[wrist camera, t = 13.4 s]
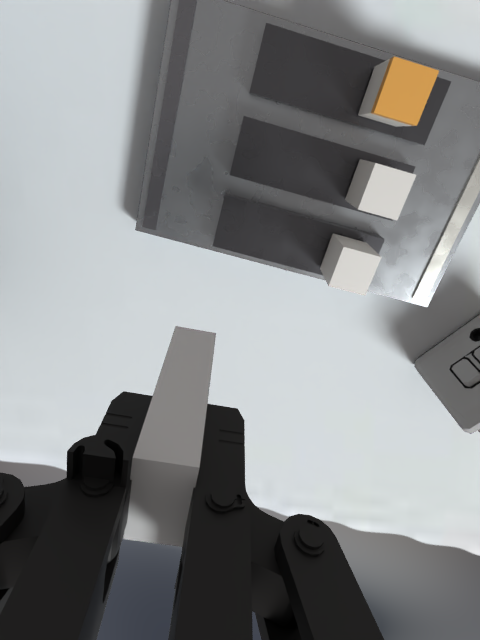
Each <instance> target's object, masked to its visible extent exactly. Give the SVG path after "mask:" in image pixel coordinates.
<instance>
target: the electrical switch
mask: <svg viewBox="0 0 480 640" xmlns="http://www.w3.org/2000/svg"><path fill="white" fill-rule="evenodd" d="M415 368H416V369H417V371H418V372H419V374H420V375H421V376H422V378H423V379H424V380H425V382H426V383H427V384H428V385H429V387H430V388H431V389H432V391H433V392H434V393H435V395H436V396H437V397H438V398H439V400H440V401H441V402H442V404H443V405H444V406H445V408H446V409H447V410H448V411H449V413H450V414H451V415H452V417H453V418H454V419H455V421H456V422H457V423H458V424H459V426H460V427H461V428H462V429H463V430H464V431H465V432H467V433H470V434H472V433H474V432H476V431H477V430H478V431H479V432H480V314H479V315H478V316H477V317H475V318H474V319H472V320H471V321H470V322H468V323H467V324H465V325H464V326H463V327H461V328H460V329H458V330H457V331H456V332H454V333H453V334H452V335H450V336H449V337H447V338H446V339H445V340H443V341H442V342H440V343H439V344H438V345H436V346H435V347H433V348H432V349H431V350H429V351H428V352H426V353H425V354H424V355H422V356H421V357H419V358H418V359H417V360H416V361H415Z"/></svg>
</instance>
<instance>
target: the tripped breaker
mask: <svg viewBox="0 0 480 640" xmlns="http://www.w3.org/2000/svg"><path fill="white" fill-rule="evenodd" d="M438 73H439V70H436V69H433V68H429V67H426V66H423V65H420V64H417V63H414V62H411V61H408V60H404V59H401V58H398V57H395V56H394V57H392V58H390V59H388V60H386V61H384V62H382V63H380V64H379V65H377V66H375V67H374V70H373V73H372V76H371V78H370V81H369V84H368V87H367V90H366V93H365V96H364V99H363V102H362V104H361V107H360V110H359V113H358V115H359V116H362V117H365V118H369V119H372V120H375V121H379V122H382V123H385V124H389V125H392V126H395V127H397V126H417V124H418V122H419V120H420V117H421V115H422V112H423V110H424V107H425V105H426V102H427V100H428V97H429V95H430V92H431V90H432V88H433V85H434V83H435V80H436V78H437V75H438Z"/></svg>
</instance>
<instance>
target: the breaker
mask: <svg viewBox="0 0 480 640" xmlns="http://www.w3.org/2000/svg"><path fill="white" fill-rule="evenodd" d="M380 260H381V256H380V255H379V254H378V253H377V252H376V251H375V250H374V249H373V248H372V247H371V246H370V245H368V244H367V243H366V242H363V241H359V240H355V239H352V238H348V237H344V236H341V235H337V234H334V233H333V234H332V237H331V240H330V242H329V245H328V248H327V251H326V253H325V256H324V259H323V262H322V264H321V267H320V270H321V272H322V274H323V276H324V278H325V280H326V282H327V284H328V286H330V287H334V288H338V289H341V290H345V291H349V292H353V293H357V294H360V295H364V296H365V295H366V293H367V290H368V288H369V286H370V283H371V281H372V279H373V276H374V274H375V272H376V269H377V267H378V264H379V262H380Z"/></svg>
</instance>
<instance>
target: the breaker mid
mask: <svg viewBox="0 0 480 640" xmlns="http://www.w3.org/2000/svg"><path fill="white" fill-rule="evenodd" d="M415 178H416V175H415V174H412V173H408V172H405V171H401V170H398V169H395V168H391V167H388V166H384V165H381V164H378V163H374V162H370V161H366V160H362V159H360V160H359V163H358V165H357V168H356V171H355V174H354V176H353V179H352V182H351V185H350V187H349V190H348V193H347V196H346V198H345V200H346V201H347V202H348V203H350V204H351V205H352V206H354V207H355V208H357V209H358V210H362V211H365V212H369V213H372V214H376V215H379V216H383V217H386V218H390V219H393V220H398V218H399V215H400V213H401V210H402V208H403V206H404V203H405V201H406V199H407V196H408V194H409V192H410V189H411V187H412V185H413V182H414V180H415Z"/></svg>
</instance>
